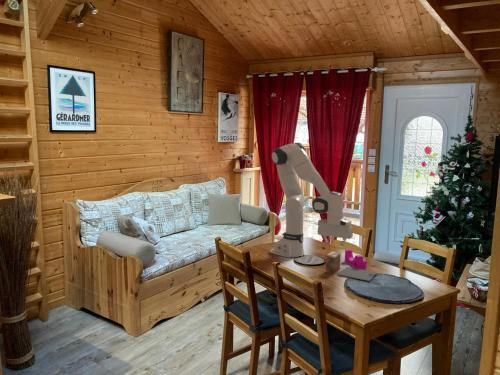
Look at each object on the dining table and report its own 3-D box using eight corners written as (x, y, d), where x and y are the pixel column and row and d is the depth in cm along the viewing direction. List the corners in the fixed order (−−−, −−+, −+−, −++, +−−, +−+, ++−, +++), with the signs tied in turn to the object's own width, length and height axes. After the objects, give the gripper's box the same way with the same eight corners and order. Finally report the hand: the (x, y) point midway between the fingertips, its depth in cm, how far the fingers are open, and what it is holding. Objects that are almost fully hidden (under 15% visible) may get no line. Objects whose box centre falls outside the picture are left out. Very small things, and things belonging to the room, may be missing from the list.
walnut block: (325, 272, 234) (326, 254, 233) (331, 268, 242) (332, 251, 240) (333, 273, 231) (334, 256, 230) (339, 269, 239) (340, 252, 238)
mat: (337, 275, 229) (337, 273, 229) (347, 268, 242) (347, 266, 242) (369, 282, 219) (369, 280, 219) (377, 274, 232) (377, 272, 232)
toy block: (366, 268, 243) (367, 256, 242) (356, 269, 241) (357, 256, 241) (353, 260, 257) (354, 249, 257) (344, 261, 256) (345, 249, 255)
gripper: (315, 219, 236) (315, 243, 237) (350, 223, 225) (349, 248, 226) (320, 217, 241) (319, 240, 243) (354, 221, 230) (353, 245, 231)
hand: (334, 244), depth 234 cm, fingers open, 8 cm apart
